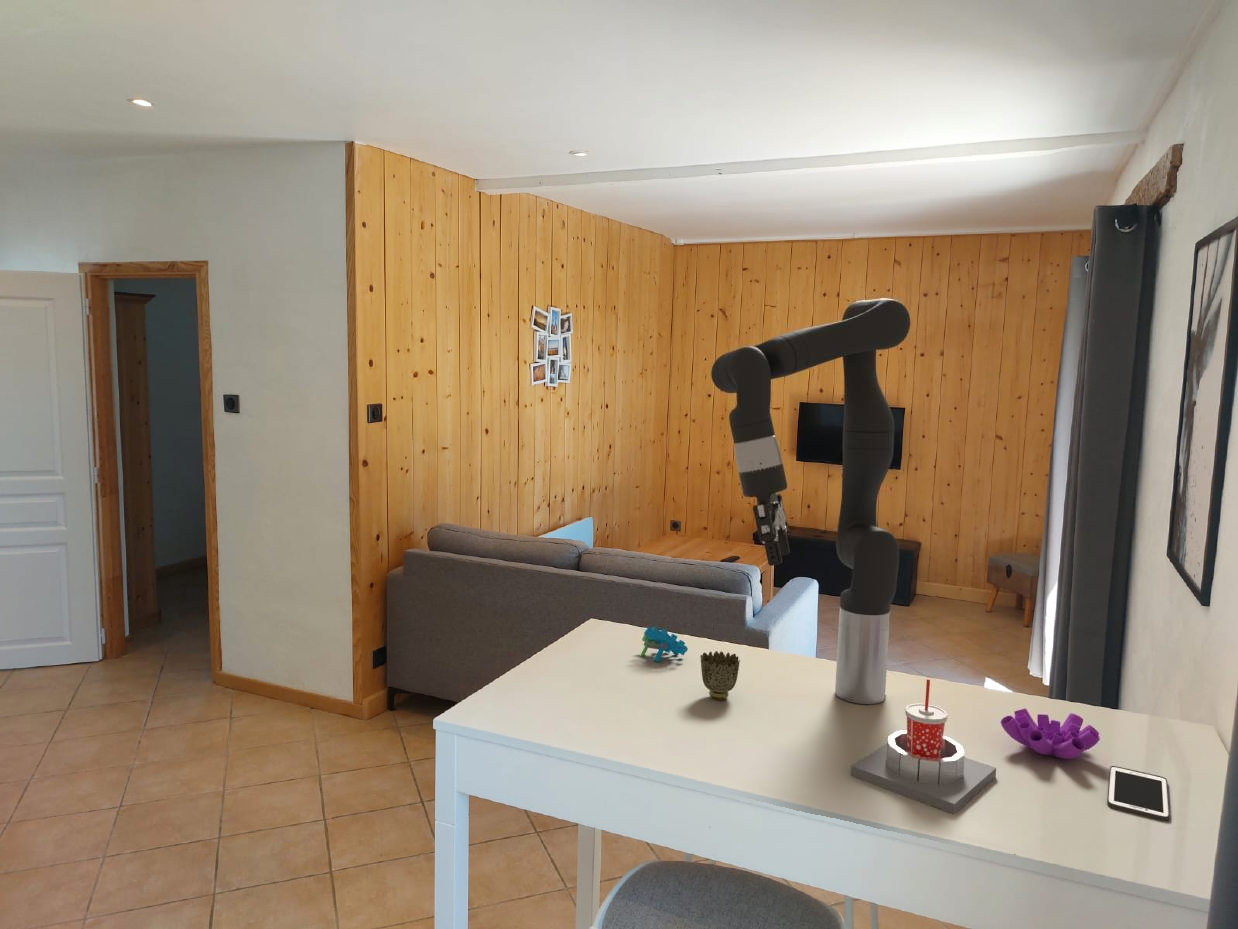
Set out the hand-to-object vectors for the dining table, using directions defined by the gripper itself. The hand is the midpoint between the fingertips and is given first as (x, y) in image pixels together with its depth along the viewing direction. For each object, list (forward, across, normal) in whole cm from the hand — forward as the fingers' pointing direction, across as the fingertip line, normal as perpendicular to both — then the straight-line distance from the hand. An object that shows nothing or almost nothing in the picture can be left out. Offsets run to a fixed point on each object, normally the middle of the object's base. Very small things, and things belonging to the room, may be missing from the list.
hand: (780, 559), depth 143 cm
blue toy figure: (+22, +29, +35) cm, 51 cm away
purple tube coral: (+40, +9, -35) cm, 54 cm away
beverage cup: (+34, -7, -16) cm, 39 cm away
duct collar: (+34, -7, -17) cm, 39 cm away
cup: (+26, +11, +19) cm, 34 cm away
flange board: (+35, -7, -16) cm, 40 cm away
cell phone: (+44, -1, -46) cm, 63 cm away
